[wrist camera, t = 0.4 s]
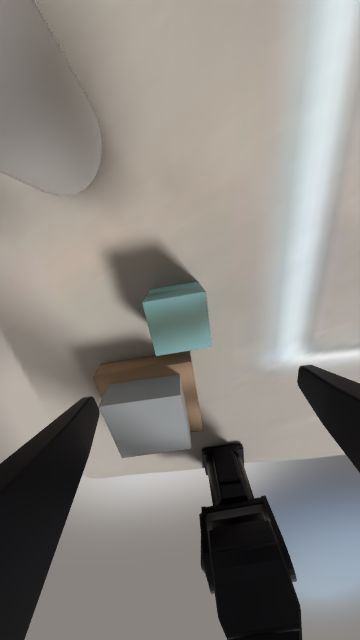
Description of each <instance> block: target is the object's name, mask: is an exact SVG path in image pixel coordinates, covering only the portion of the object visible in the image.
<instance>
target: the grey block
mask: <svg viewBox="0 0 360 640" xmlns="http://www.w3.org/2000/svg"><path fill="white" fill-rule="evenodd" d="M99 408H100V410H101V413H102V415H103V417H104V419H105V421H106V424H107V426H108V428H109V430H110V433H111V435H112V437H113V439H114V441H115V444H116V446H117V448H118V450H119V452H120V455H121V457H122V458H125V457H133V456H140V455H148V454H156V453H163V452H171V451H178V450H186V449H192V448H191V437H190V425H189V419H188V414H187V409H186V404H185V399H184V394H183V389H182V384H181V378H180V374H178V375H171V376H164V377H157V378H150V379H144V380H137V381H130V382H123V383H116V384H110V385H109V387H108V389H107V391H106V393H105V395H104V397H103V399H102V401H101V403H100V405H99Z"/></svg>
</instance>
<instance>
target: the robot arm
mask: <svg viewBox="0 0 360 640" xmlns="http://www.w3.org/2000/svg"><path fill="white" fill-rule="evenodd" d="M297 382H298V386H299V388H300V389H301V391H302V393H303V394H304V396H305V397H306V399H307V400H308V402H309V404H310V405H311V407H312V408H313V410H314V411H315V413H316V415H317V416H318V418H319V419H320V421H321V422H322V424H323V425H324V426H325V428H326V429H327V430H328V432H329V433H330V434H331V436H332V437H333V438H334V439H335V441H336V442H337V443H338V445H339V446H340V447H341V449H342V450H343V451H344V453H345V454H346V455H347V456H348V458H349V459H350V460H351V462H352V463H353V464H354V466H355V467H356V468H357V470H358V471H359V472H360V383H357V382H354V381H352V380H349V379H347V378H344V377H341V376H339V375H336V374H334V373H331V372H328V371H326V370H323V369H321V368H318V367H315V366H313V365H304V366H300V367H299V371H298V380H297ZM98 418H99V408H98V406H97V404H96V402H95V399H94V398H93V397H84V398H82V399H80V400H79V401H78V402H77V403H75V404H74V405H73V406H72V407H70V408H69V409H68V410H67V411H65V412H64V413H63V414H62V415H60V416H59V417H58V418H57V419H55V420H54V421H53V422H52V423H50V424H49V425H48V426H47V427H45V428H44V429H43V430H42V431H40V432H39V433H38V434H37V435H36V436H34V437H33V438H32V439H31V440H29V441H28V442H27V443H26V444H24V445H23V446H22V447H21V448H19V449H18V450H17V451H16V452H14V453H13V454H12V455H11V456H9V457H8V458H7V459H6V460H4V461H3V462H2V463H1V464H0V640H24V639H25V636H26V633H27V631H28V628H29V625H30V622H31V619H32V616H33V613H34V611H35V608H36V605H37V602H38V599H39V596H40V593H41V591H42V588H43V585H44V582H45V579H46V576H47V573H48V570H49V568H50V565H51V562H52V559H53V556H54V553H55V551H56V548H57V545H58V542H59V539H60V536H61V534H62V531H63V528H64V525H65V522H66V519H67V516H68V514H69V511H70V508H71V505H72V502H73V499H74V497H75V493H76V491H77V488H78V485H79V482H80V479H81V476H82V474H83V471H84V468H85V465H86V462H87V459H88V456H89V453H90V450H91V446H92V442H93V438H94V434H95V430H96V426H97V422H98ZM202 455H203V461H204V466H205V471H206V475H208V477H209V483H210V490H211V496H212V503H213V506H210V507H201V508H202V513H201V514H200V515H199V516H200V527H201V568H202V570H203V571H204V573H205V574H206V577H207V581H208V584H209V588H210V592H211V594H214V593H215V598H216V604H217V613H218V618H219V621H220V623H221V626H222V628H223V630H224V633H225V635H226V637H227V640H302V627H301V609H300V604H299V601H298V598H297V595H296V592H295V590H294V587H293V584H292V582H296V581H297V579H296V575H295V571H294V568H293V565H292V562H291V559H290V556H289V553H288V550H287V548H286V545H285V542H284V540H283V537H282V535H281V532H280V530H279V528H278V525H277V523H276V520H275V518H274V515H273V513H272V511H271V508H270V506H269V504H268V501H267V499H266V496H261V497H260V498H254V496H253V494H252V490H251V487H250V484H249V481H248V478H247V475H246V471H245V468H244V454H243V446H242V444H233V445H226V446H219V447H212V448H205V449H202Z"/></svg>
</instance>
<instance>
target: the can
mask: <svg viewBox="0 0 360 640" xmlns="http://www.w3.org/2000/svg"><path fill="white" fill-rule="evenodd" d="M101 152H102V139H101V134H100V128H99V122H98V120H97V117H96V115H95V112H94V110H93V108H92V105H91V103H90V101H89V99H88V97H87V95H86V93H85V92H84V90H83V88H82V86H81V84H80V83H79V81H78V79H77V77H76V76H75V74H74V72H73V70H72V68H71V67H70V65H69V63H68V61H67V59H66V58H65V56H64V54H63V52H62V51H61V49H60V47H59V45H58V43H57V42H56V40H55V38H54V36H53V34H52V33H51V31H50V29H49V27H48V26H47V24H46V22H45V20H44V18H43V17H42V15H41V13H40V11H39V10H38V8H37V6H36V4H35V2H34V1H33V0H0V172H1V173H3V174H5V175H8V176H10V177H12V178H14V179H16V180H18V181H21V182H23V183H25V184H27V185H29V186H32V187H34V188H36V189H38V190H40V191H43V192H46V193H49V194H53V195H56V196H68V195H74V194H76V193H78V192H80V191H82V190H84V189H86V187H87V186H88V185H89V184H90V183H91V182H92V180H93V179H94V178H95V176H96V173H97V171H98V168H99V165H100V163H101Z"/></svg>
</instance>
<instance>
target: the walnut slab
mask: <svg viewBox="0 0 360 640" xmlns="http://www.w3.org/2000/svg"><path fill="white" fill-rule="evenodd" d="M178 374H180V378H181V384H182V389H183V394H184V399H185V404H186V409H187V414H188V419H189V425H190V432H196V431H203V427H202V421H201V415H200V409H199V403H198V397H197V391H196V385H195V379H194V373H193V367H192V362H191V356H190V351H184V352H178V353H172V354H166V355H160V356H156V355H155V356H149V357H142V358H136V359H130V360H124V361H118V362H111V363H105V364H101V365H100V367H99V368H98V370H97V372H96V373H95V375H94V376H93V379H94V381H95V383H96V385H97V388H98V390H99V392H100V394H101V397H102V399H103V397H104V395H105V393H106V391H107V389H108V387H109V385H110V384H116V383H123V382H130V381H137V380H144V379H150V378H157V377H164V376H171V375H178Z"/></svg>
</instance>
